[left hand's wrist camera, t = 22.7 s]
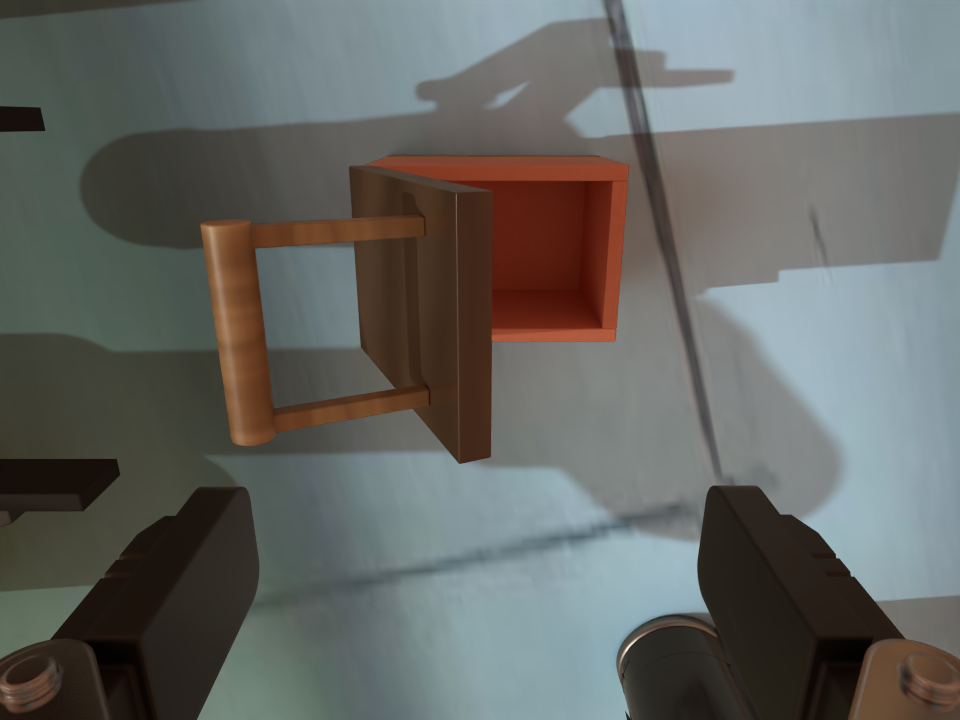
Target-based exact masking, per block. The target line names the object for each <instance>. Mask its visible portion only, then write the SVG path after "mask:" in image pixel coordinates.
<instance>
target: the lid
mask: <svg viewBox="0 0 960 720" xmlns="http://www.w3.org/2000/svg"><path fill="white" fill-rule="evenodd" d="M349 173H350V189H351V204H352V218H349V219H331V220H313V221H296V222H278V223H260V224H252V222H251V221H249V220H246V219H218V220H210V221H205V222H203V223H201V225H200V227H201V234H202V241H203V248H204V254H205V261H206V268H207V275H208V282H209V289H210V296H211V302H212V309H213V316H214V323H215V330H216V337H217V344H218V350H219V357H220V364H221V371H222V378H223V385H224V392H225V398H226V405H227V412H228V419H229V426H230V433H231V439H232V441H233V442H234V443H235V444H237V445H240V446H256V445H261V444H264V443H267V442H269V441H271V440H272V439H273V438H275V436H276V434H277V432H282V431H288V430H294V429H299V428H305V427H311V426H316V425H322V424H328V423H333V422H339V421H345V420H350V419H356V418H362V417H367V416H373V415H379V414H384V413H390V412H396V411H401V410H407V409H413V410H414V411H415V412H416V413H417V414H418V415H419V417H420V418H421V419H422V420H423V421H424V423H425V424H426V425H427V426H428V427H429V429H430V430H431V431H432V432H433V433H434V434H435V436H436V437H437V438H438V439H439V440H440V442H441V443H442V444H443V445H444V446H445V448H446V449H447V450H448V451H449V452H450V453H451V455H452V456H453V457H454V458H455V459H456V461H457V462H458V463H459V464H462V463H466V462H471V461H475V460H480V459H485V458H489V457H491V369H492V240H493V192H492V191H489V190H484V189H480V188H475V187H470V186H466V185H461V184H457V183H452V182H447V181H443V180H438V179H433V178H429V177H424V176H420V175H415V174H410V173H406V172H401V171H396V170H392V169H387V168H382V167H378V166H349ZM353 241H354V250H355V265H356V280H357V295H358V311H359V326H360V341H361V348H362V349H363V350H364V351H365V353H366V354H367V355H368V356H369V357H370V359H371V360H372V361H373V362H374V363H375V364H376V366H377V367H378V368H379V369H380V370H381V372H382V373H383V374H384V375H385V376H386V378H387V379H388V380H389V381H390V382H391V383H392V385H393V386H394V387H395V388H396V389H392V390H386V391H380V392H374V393H368V394H361V395H355V396H349V397H343V398H337V399H331V400H325V401H318V402H312V403H306V404H300V405H294V406H288V407H282V408H275V409H274V405H273V396H272V388H271V380H270V371H269V363H268V354H267V346H266V337H265V329H264V321H263V312H262V304H261V295H260V287H259V278H258V270H257V261H256V253H255V248H267V247H281V246H296V245H310V244H324V243H338V242H353Z"/></svg>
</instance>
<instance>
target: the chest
mask: <svg viewBox="0 0 960 720" xmlns="http://www.w3.org/2000/svg"><path fill="white" fill-rule="evenodd" d="M364 166H378V167H382V168H387V169H392V170H396V171H401V172H406V173H410V174H415V175H420V176H424V177H429V178H433V179H438V180H443V181H447V182H452V183H457V184H461V185H466V186H470V187H475V188H480V189H484V190H489V191H492V192H493V240H492V342H614V341H615V339H616V328H617V315H618V302H619V289H620V276H621V263H622V250H623V237H624V224H625V211H626V198H627V185H628V172H629V165H626V164H622V163H619V162H615V161H612V160H608V159H605V158H601V157H600V156H416V155H389V156H386V157H385V158H382V159H379V160H377V161H374V162H371V163H369V164H366V165H364Z"/></svg>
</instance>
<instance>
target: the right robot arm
mask: <svg viewBox="0 0 960 720" xmlns="http://www.w3.org/2000/svg"><path fill="white" fill-rule="evenodd" d="M11 131H45V127H44V122H43V118H42V113H41V109H40V108H36V107H6V106H0V132H11ZM119 476H120V472H119V467H118V463H117V459H0V527H3V526H5V525H8V524H11V523H13V522H14V521H15V520H16V519H17V518H18V517H20V516H21V515H22V514H23V513H24V512H25V511H84V510H85V509H86V508H87V507H88V506H89V505H90V504H91V503H92V502H93V501H94V500H95V499H96V498H97V497H98V496H99V495H100V494H101V493H102V492H103V491H104V490H105V489H106V488H107V487H108V486H109V485H110V484H111V483H112V482H114V481H115V480H116V479H117V478H118V477H119Z"/></svg>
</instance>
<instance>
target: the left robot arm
mask: <svg viewBox="0 0 960 720" xmlns="http://www.w3.org/2000/svg"><path fill="white" fill-rule="evenodd" d="M697 571H698V581H699V587H700V591H701V594H702V597H703V599H704V602H705V604H706V606H707V608H708V610H709V612H710V614H711V617H712V619H713V621H714V623H715V625H716V627H717V629H713V628H712V627H711V626H709V625H708V624H706V623H704V622H702V621H700V620H697V619H694V618H690V617H682V616H671V617H663V618H659V619H655V620H652V621H650V622H647V623H645V624H643V625H642V626H640V627H638V628H637V629H635V630H634V631H633V632H632V633H631V634H630V635H629V636H628V637H627V638H626V639H625V640H624V642H623V643H622V645H621V647H620V649H619V652H618V655H617V662H616V663H617V671H618V675H619V679H620V682H621V685H622V688H623V692H624V695H625V698H626V702H627V706H628V710H629V714H630V717H629V716H628V714H627V713H626V711H625V713H626V717H627V720H960V659H958V658H957V657H955V656H953V655H951V654H949V653H947V652H945V651H943V650H941V649H938V648H936V647H933V646H930V645H928V644H925V643H921V642H917V641H913V640H906V639H905V638H904V636H903V635H902V634H901V633H900V632H899V630H898V629H897V628H896V627H895V626H894V624H893V623H892V622H891V621H890V620H889V618H888V617H887V616H886V615H885V613H884V612H883V611H882V610H881V609H880V607H879V606H878V605H877V604H876V603H875V601H874V600H873V599H872V598H871V596H870V595H869V594H868V593H867V592H866V590H865V589H864V588H863V587H862V586H861V584H860V583H859V582H858V581H857V579H856V578H855V577H851V575H850V571H849V570H848V569H847V567H846V566H845V565H844V564H843V562H842V561H841V560H840V559H836V554H835V553H834V552H833V550H832V549H831V548H830V547H829V545H828V544H827V543H826V542H825V541H824V539H823V538H822V537H821V536H820V535H819V533H818V532H816V531H815V530H813V529H812V528H810V527H809V526H807V525H806V524H804V523H803V522H801V521H800V520H798V519H797V518H795V517H794V516H792V515H780V514H779V512H778V511H777V510H776V508H775V507H774V506H773V505H772V503H771V502H770V501H769V499H768V498H767V497H766V495H765V494H764V493H763V491H762V490H761V489H760V488H759V487H757V486H712V487H710V489H709V491H708V493H707V497H706V503H705V511H704V518H703V525H702V532H701V540H700V547H699V554H698V563H697ZM258 580H259V558H258V550H257V543H256V536H255V529H254V522H253V515H252V508H251V501H250V496H249V493H248V491H247V489H246V488H245V487H199V488H198V489H196V490H195V492H194V493H193V494H192V495H191V497H190V498H189V499H188V501H187V502H186V503H185V504H184V506H183V507H182V508H181V510H180V511H179V512H178V513H177V515H176V516H164V517H163V518H161V519H160V520H158V521H157V522H155V523H154V524H152V525H151V526H149V527H148V528H146V529H145V530H143V531H142V532H140V533H139V534H137V536H136V537H135V538H134V539H133V540H132V542H131V543H130V544H129V545H128V546H127V548H126V549H125V550H124V551H123V552H122V554H121V555H120V559H119V560H116V561H115V562H114V563H113V564H112V566H111V567H110V568H109V569H108V571H107V572H106V573H105V577H104V578H101V579H100V580H99V581H98V583H97V584H96V585H95V586H94V587H93V589H92V590H91V591H90V592H89V593H88V595H87V596H86V597H85V598H84V599H83V601H82V602H81V603H80V604H79V605H78V607H77V608H76V609H75V610H74V611H73V613H72V614H71V615H70V616H69V617H68V619H67V620H66V621H65V622H64V623H63V625H62V626H61V627H60V628H59V629H58V631H57V632H56V633H55V634H54V635H53V637H52V638H51V639H50V640H47V641H43V642H39V643H35V644H32V645H30V646H27V647H24V648H22V649H19V650H17V651H15V652H13V653H11V654H9V655H7V656H5V657H3V658H2V659H0V720H197V718H198V716H199V714H200V712H201V710H202V708H203V706H204V703H205V701H206V699H207V697H208V695H209V693H210V691H211V689H212V687H213V684H214V682H215V680H216V678H217V676H218V674H219V672H220V670H221V668H222V665H223V663H224V661H225V659H226V657H227V655H228V653H229V651H230V649H231V646H232V644H233V642H234V640H235V638H236V636H237V634H238V632H239V630H240V627H241V625H242V623H243V621H244V619H245V617H246V615H247V613H248V611H249V609H250V606H251V604H252V602H253V600H254V597H255V594H256V591H257V586H258ZM630 718H631V719H630Z"/></svg>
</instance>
